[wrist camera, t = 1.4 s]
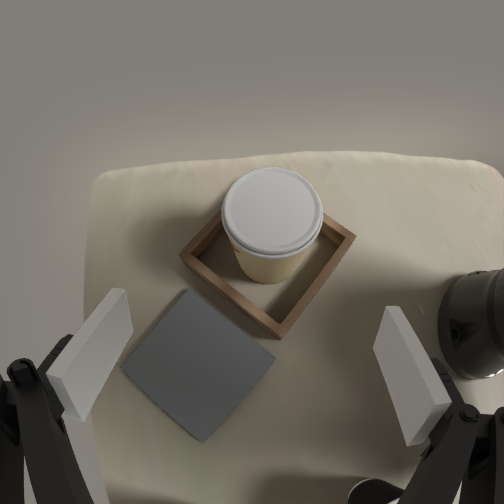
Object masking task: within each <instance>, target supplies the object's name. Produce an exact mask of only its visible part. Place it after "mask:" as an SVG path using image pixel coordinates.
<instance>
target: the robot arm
mask: <svg viewBox="0 0 504 504" xmlns="http://www.w3.org/2000/svg"><path fill="white" fill-rule="evenodd" d="M133 332H134V331H133V326H132V321H131V316H130V310H129V305H128V299H127V293H126V289H122V288H114V287H113V288H112V289H111V290H110V292H109V293H108V294H107V295H106V296H105V298H104V299H103V300H102V301H101V302H100V304H99V305H98V306H97V307H96V308H95V310H94V311H93V312H92V313H91V315H90V316H89V317H88V318H87V320H86V321H85V322H84V323H83V325H82V326H81V327H80V328H79V330H78V331H77V332H76V333H75V335H70V334H68V335H67V336H65V337H63V338H62V339H61V340H60V341H59V342H58V343H57V344H56V346H55V348H54V349H52V351H51V352H50V354H49V355H48V356H47V357H46V359H45V360H44V361H43V363H42V364H41V365H40V366H39V368H38V369H37V370H36V368H35V366H34V364H33V362H32V361H31V360H29V359H26V358H22V359H18V360H15V361H14V362H12V363H11V364H10V365H9V367H8V368H7V374H8V376H9V378H10V380H11V381H4V380H3V378H2V377H1V375H0V504H24V456H25V460H26V465H27V469H28V473H29V477H30V481H31V485H32V488H33V491H34V495H35V499H36V502H37V504H94V502H93V500H92V498H91V496H90V494H89V491H88V489H87V486H86V484H85V481H84V479H83V477H82V474H81V471H80V469H79V466H78V463H77V461H76V458H75V455H74V452H73V449H72V446H71V443H70V440H69V437H68V434H67V431H66V428H65V424H64V420H63V419H62V417H61V415H62V413H63V412H64V410H65V412H66V413H67V415H68V417H69V418H70V419H73V420H76V421H79V422H82V423H84V422H85V420H86V418H87V416H88V414H89V412H90V410H91V408H92V406H93V404H94V403H95V401H96V399H97V397H98V395H99V393H100V391H101V389H102V388H103V386H104V384H105V382H106V380H107V378H108V376H109V375H110V373H111V371H112V369H113V367H114V366H115V364H116V362H117V360H118V358H119V357H120V355H121V353H122V351H123V350H124V348H125V346H126V344H127V343H128V341H129V339H130V337H131V336H132V334H133ZM438 332H439V340H440V344H441V348H442V351H443V354H444V356H445V358H446V360H447V362H448V363H449V365H450V366H451V367H452V368H453V370H454V371H456V372H457V373H458V374H459V375H461V376H463V377H465V378H468V379H485V378H490V377H493V376H495V375H497V374H498V373H500V372H501V371H503V370H504V268H503V269H501V270H492V271H489V272H488V271H475V272H472V273H469V274H467V275H465V276H463V277H462V278H460V279H458V280H457V281H456V282H454V283H453V284H452V285H451V287H450V288H449V289H448V291H447V292H446V294H445V296H444V298H443V301H442V304H441V307H440V312H439V319H438ZM373 350H374V353H375V355H376V358H377V361H378V363H379V366H380V369H381V371H382V374H383V377H384V380H385V382H386V385H387V388H388V391H389V394H390V396H391V399H392V402H393V405H394V408H395V411H396V414H397V417H398V420H399V423H400V426H401V429H402V432H403V436H404V439H405V442H406V445H407V447H408V446H414V445H419V444H423V442H424V441H425V440H426V438H427V437H428V436H429V438H430V441H431V443H430V444H429V446H428V447H427V448H426V449H425V451H424V452H423V453H422V454H421V457H422V459H421V461H420V463H419V465H418V467H417V469H416V471H415V473H414V475H413V477H412V478H411V480H410V482H409V484H408V486H407V487H406V489H405V491H404V492H403V494H402V496H401V497H400V499H399V501H398V502H397V504H452V503H453V501H454V498H455V496H456V494H457V491H458V489H459V486H460V484H461V481H462V486H461V493H460V499H459V504H504V407H500V408H498V409H497V411H496V412H495V413H494V415H488V414H480V413H479V411H478V410H477V409H476V407H474V406H472V405H470V404H465V403H464V401H463V399H462V397H461V395H460V393H459V391H458V390H457V388H456V386H455V384H454V382H453V381H452V378H451V377H450V375H448V371H447V369H446V368H445V366H444V365H443V364H442V363H441V362H440V361H439V360H438V359H437V358H433V359H429V357H428V355H427V353H426V351H425V350H424V348H423V346H422V344H421V342H420V341H419V339H418V337H417V335H416V334H415V332H414V330H413V329H412V327H411V325H410V323H409V322H408V320H407V318H406V317H405V315H404V313H403V312H402V310H401V308H400V307H399V306H386V307H385V311H384V314H383V317H382V321H381V324H380V327H379V330H378V333H377V336H376V339H375V342H374V345H373Z"/></svg>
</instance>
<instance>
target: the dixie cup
mask: <svg viewBox="0 0 504 504" xmlns="http://www.w3.org/2000/svg"><path fill="white" fill-rule="evenodd" d="M404 491H405V490H403V489H401V488H398V487H396V486H394V485H392V484H389V483H387V482H385V481H383V480H380V479H365V480H363V481H360V482H359V483H357V484H356V485H355V486H354V487H353V488H352V489H351V490H350V492H349V495H348V504H397V502H398V501H399V499H400V497H401V496H402V494H403V492H404Z"/></svg>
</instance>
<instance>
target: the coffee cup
mask: <svg viewBox="0 0 504 504" xmlns="http://www.w3.org/2000/svg"><path fill="white" fill-rule="evenodd" d="M221 217H222V223H223V226H224V229H225V231H226V233H227V235H228V237H229V239H230V242H231V245H232V247H233V250H234V252H235V255H236V257H237V260H238V262H239V265H240V267H241V268H242V270H243V271H244V273H245V274H246V275H247V276H248V277H250V278H251V279H253V280H254V281H257V282H259V283H263V284H276V283H280V282H282V281H284V280H286V279H288V278H289V277H290V276H291V275H292V274H293V273H294V272H295V271H296V269H297V268H298V266H299V264H300V263H301V261H302V259H303V258H304V256H305V254H306V253H307V251H308V249H309V247H310V246H311V244H312V243H313V241H314V240H315V239H316V237H317V236H318V234H319V232H320V229H321V226H322V222H323V207H322V203H321V200H320V198H319V196H318V194H317V192H316V190H315V189H314V188H313V186H312V185H311V184H310V183H309V182H308V181H307V180H306V179H305V178H303V177H302V176H300V175H299V174H297V173H295V172H293V171H290V170H287V169H283V168H277V167H266V168H259V169H255V170H253V171H250V172H248V173H246V174H244V175H243V176H241V177H240V178H238V179H237V180H236V181H235V182H234V183H233V184H232V186H231V187H230V188H229V190H228V191H227V193H226V195H225V197H224V200H223V203H222V209H221Z"/></svg>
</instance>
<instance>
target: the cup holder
mask: <svg viewBox="0 0 504 504" xmlns="http://www.w3.org/2000/svg"><path fill="white" fill-rule="evenodd" d="M224 230H225V229H224V226H223V223H222V217H221V210H220V211H219V212H218V213H217V214H216V215H215V216H214V217H213V218H212V219H211V221H210V222H209V223H208V224H207V225H206V226H205V227H204V228H203V229H202V230H201V231H200V232H199V233H198V234H197V235H196V236H195V238H194V239H193V240H192V241H191V242H190V243H189V244H188V245H187V246H186V247H185V248H184V249H183V250H182V252H181V253H180V254H179V256H180V257H181V259H182V261H183V262H184V264H186V265H187V266H188V267H189V268H190V269H192V270H193V271H194V272H195V273H196V274H198V275H199V276H200V277H201V278H202V279H204V280H205V281H206V282H207V283H208V284H210V285H211V286H212V287H213V288H214V289H216V290H217V291H218V292H219V293H221V294H222V295H223V296H224V297H226V298H227V299H228V300H229V301H230V302H232V303H233V304H234V305H235V306H237V307H238V308H239V309H240V310H242V311H243V312H244V313H245V314H247V315H248V316H249V317H250V318H252V319H253V320H254V321H256V322H257V323H258V324H259V325H261V326H262V327H263V328H265V329H266V330H267V331H268V332H270V333H271V334H272V335H274V336H275V337H276V338H277V339H279V340H281V338H282V337H283V336H284V335H285V333H286V332H287V331H288V330H289V328H290V327H291V326H292V324H293V323H294V322H295V321H296V319H297V318H298V317H299V315H300V314H301V313H302V312H303V310H304V309H305V308H306V306H307V305H308V304H309V302H310V301H311V300H312V298H313V297H314V296H315V294H316V293H317V292H318V290H319V289H320V288H321V286H322V285H323V284H324V282H325V281H326V279H327V278H328V277H329V275H330V274H331V273H332V271H333V270H334V268H335V267H336V266H337V264H338V263H339V261H340V260H341V259H342V257H343V256H344V254H345V253H346V252H347V250H348V249H349V247H350V246H351V244H352V243H353V241H354V240H355V238H356V237H357V236H356V235H354V234H353V233H352V232H350V231H349V230H347V229H346V228H344V227H343V226H342V225H340V224H339V223H337V222H336V221H335V220H333V219H332V218H330V217H329V216H327V215H326V214H324V213H323V222H322V226H321V229H320V233H321V234H323V235H324V236H325V237H327V238H328V239H330V240H331V241H332V242H334V243H335V244H337V245H338V246H339V248H338V249H337V251H336V252H335V253H334V255H333V256H332V258H331V259H330V260H329V262H328V263H327V264H326V266H325V267H324V268H323V270H322V271H321V272H320V274H319V275H318V276H317V278H316V279H315V280H314V282H313V283H312V284H311V286H310V287H309V288H308V290H307V291H306V292H305V294H304V295H303V296H302V298H301V299H300V300H299V301H298V303H297V304H296V305H295V307H294V308H293V309H292V310H291V312H290V313H289V314H288V316H287V317H286V318H285V319H284V321H283V322H282V323H281V324H279V323H277V322H276V321H275V320H273V319H272V318H271V317H270V316H268V315H267V314H266V313H264V312H263V311H262V310H261V309H259V308H258V307H257V306H255V305H254V304H253V303H252V302H250V301H249V300H248V299H246V298H245V297H244V296H243V295H241V294H240V293H239V292H238V291H236V290H235V289H234V288H233V287H231V286H230V285H229V284H228V283H226V282H225V281H224V280H223V279H221V278H220V277H219V276H218V275H216V274H215V273H214V272H213V271H211V270H210V269H209V268H208V267H206V266H205V265H204V264H203V263H202V262H200V261H199V260H198V259H199V258H200V256H201V255H202V254H203V253H204V252H205V251H206V250H207V249H208V248H209V247H210V246H211V244H212V243H213V242H214V241H215V240H216V239H217V238H218V237H219V236H220V235H221V234H222V232H223V231H224Z"/></svg>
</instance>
